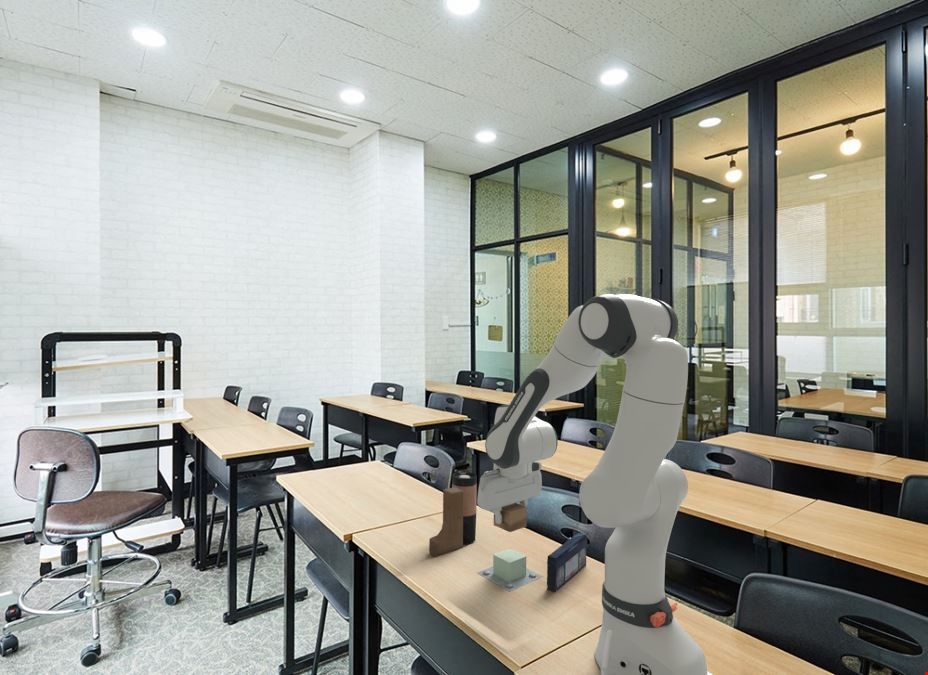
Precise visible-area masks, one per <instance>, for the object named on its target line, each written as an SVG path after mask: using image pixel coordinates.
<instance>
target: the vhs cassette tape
mask: <svg viewBox="0 0 928 675" xmlns="http://www.w3.org/2000/svg"><path fill="white" fill-rule="evenodd" d="M587 539H588V535H587V533H582V532H578V533H577V534H575V535H573V536H572V537H571V538H569V539H568V540H566V542H565V543H564V544H562V545H560V546H559V547H558V548H556V549H555V550H553V552H551V553H550V554H549V555H547V558H546V559H547V560H546V564H547V567H546V568H547V569H546V590H547V591H550V592H553V593H557V592H558V591H559V590H560V589H561V588H562V587H563V586H564V585H566V584H567V583H568V582H570V581H571V579H573V578H574V577H575V576H576V575H577V574H578V573H580V572H581V571H582V569H584V568H585V567H586V566H587V550H588V549H587V543H588V542H587V541H588V540H587Z"/></svg>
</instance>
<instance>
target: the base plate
mask: <svg viewBox="0 0 928 675" xmlns="http://www.w3.org/2000/svg"><path fill="white" fill-rule="evenodd" d="M477 575H480V576H481V577H483V578H485V579H486V580H488V581H489V582H492V583H493V584H494V585H497V586H498V587H500V588H503V589H504V590H506V591H507V592H513V590H516V589H517V590H518V588H521V587H523V586H526V585H528V584H529V583H532V582H534V581H537V580H539V579H541V578H543V577H544V576H543V575H541V574H540V573H536V572H534V571H533V570H531V569H528V568H527V567H526V576H524V577H522V578H519V579H517V580H515V581H513V582H510V583H509V582H507V581H505V580H504V579H502V578H500V577H498V576H496V575H495V574H493V566H491V567H488V568H486V569H483V570H481V571H478V572H477Z"/></svg>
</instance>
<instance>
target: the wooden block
mask: <svg viewBox="0 0 928 675" xmlns="http://www.w3.org/2000/svg"><path fill="white" fill-rule="evenodd" d="M441 525H442V526H441V529H440V530H439V531H438V533H437V535H434V536H432V537H430V538H429V543H428V544H429V545H428V548H429V549H428V550H429V551H428V553H429V555H431V556H432V557H433V558H437V557H440V556H444V555H446V554H449V553H452V552H455V551H458V550H461V549H463V548H464V546H463V545H464V544H463V491H462V490H460V489H458V488H456V487H454V488H452V487H449V488H444V489H443V490H442V524H441Z"/></svg>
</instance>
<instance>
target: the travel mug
mask: <svg viewBox="0 0 928 675" xmlns="http://www.w3.org/2000/svg"><path fill="white" fill-rule="evenodd" d="M477 477H478V476H477V474H475V473H474V472H469V471H467V472H466V473H460V472H455V473H453V474H452V478H451V479H452V481H451V485H452V486H451V488H454V487H456V488H458V489H460V490H462V491H463V545H471V544H473V543H475V542H476V530H477Z"/></svg>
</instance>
